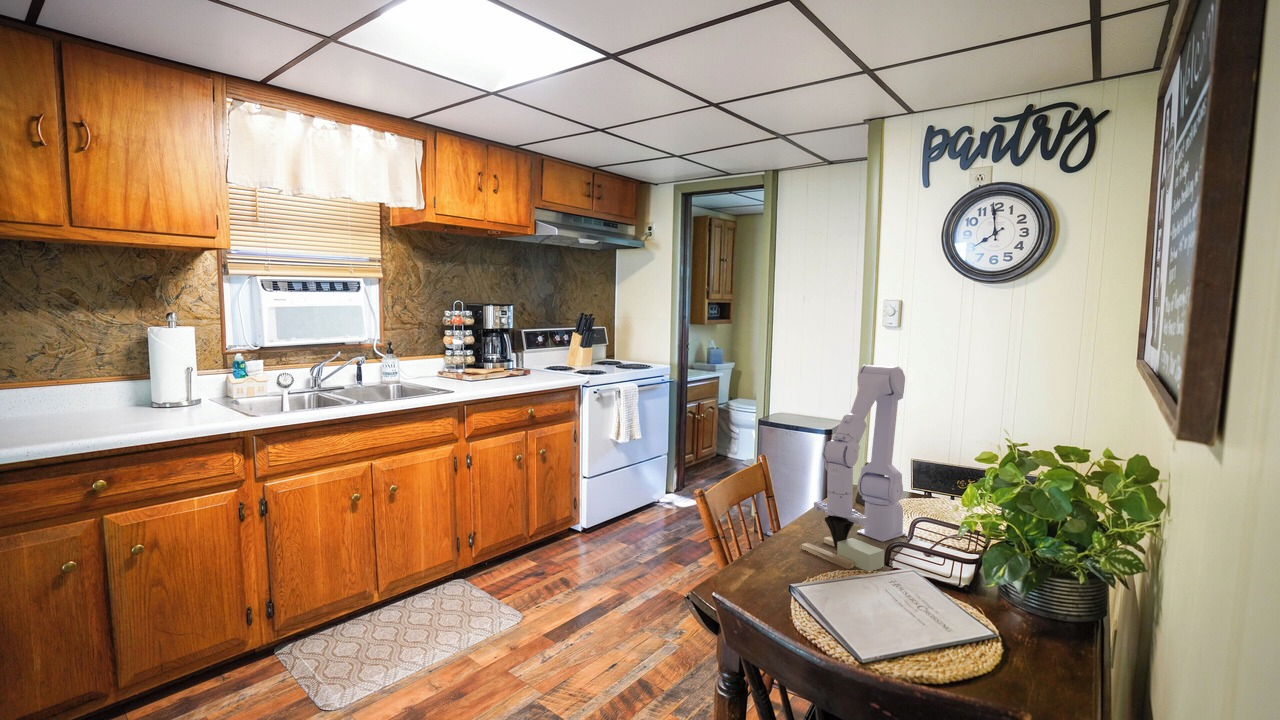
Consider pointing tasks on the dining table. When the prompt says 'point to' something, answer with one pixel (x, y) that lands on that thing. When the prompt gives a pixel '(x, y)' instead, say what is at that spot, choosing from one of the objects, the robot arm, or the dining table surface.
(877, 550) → the green block
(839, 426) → the robot arm
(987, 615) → the dining table surface
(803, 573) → the dining table surface
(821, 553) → the twin beige rails
